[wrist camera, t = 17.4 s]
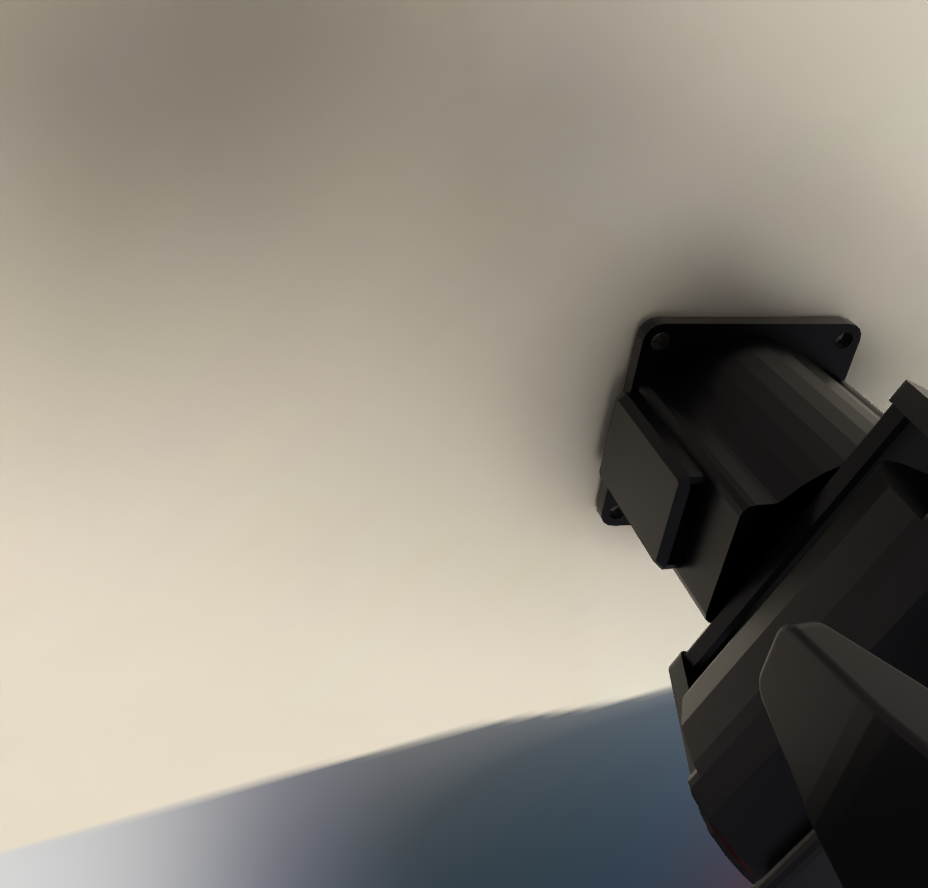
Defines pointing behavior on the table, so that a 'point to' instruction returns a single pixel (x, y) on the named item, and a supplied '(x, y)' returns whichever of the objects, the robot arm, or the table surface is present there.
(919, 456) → the robot arm
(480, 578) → the table surface
